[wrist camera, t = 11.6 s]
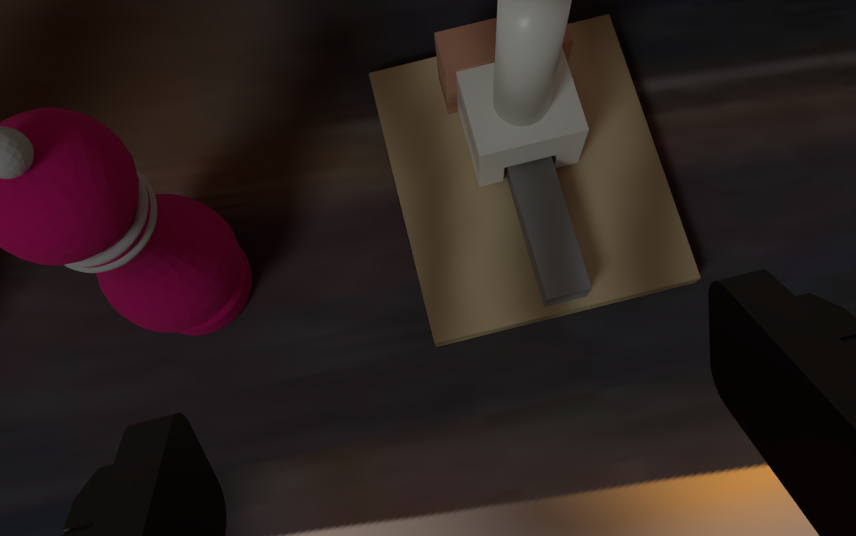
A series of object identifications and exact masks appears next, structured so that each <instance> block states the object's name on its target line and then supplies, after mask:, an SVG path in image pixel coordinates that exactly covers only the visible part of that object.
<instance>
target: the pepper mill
mask: <svg viewBox="0 0 856 536" xmlns="http://www.w3.org/2000/svg"><path fill="white" fill-rule="evenodd" d="M0 247H1V248H2V249H4V250H5V251H7V252H9V253H11V254H13V255H14V256H16V257H18V258H20V259H23V260H26V261H30V262H33V263H37V264H42V265H52V266H56V265H65V266H66V267H68V268H71V269H74V270H77V271H81V272H87V273H96V276H97V278H98V281H99V284H100V287H101V290H102V292H103V293H104V295H105V296H106V298H107V300H108V301H109V302H110V304H111V305H112V306H113V307H114V309H115V310H116V311H118V312H119V313H120V314H121V315H122V316H124V317H125V318H127V319H128V320H130V321H131V322H133V323H135V324H136V325H138V326H140V327H143V328H145V329H148V330H152V331H157V332H177V333H180V334H184V335H192V336H197V335H205V334H210V333H212V332H215V331H217V330H220V329H221V328H223V327H225V326H226V325H228V324H229V323H230V322H232V321H233V320H234V319H235V318H236V317H237V316H238V315H239V313H240V312H241V311H242V310H243V308H244V306H245V305H246V303H247V301H248V298H249V295H250V291H251V288H252V270H251V267H250V264H249V260H248V258H247V256H246V254H245V253H244V251H243V250H242V249H241V247H240V246H239V244H238V242H237V239H236V237H235V234H234V232H233V231H232V229H231V227H230V226H229V224H228V223H227V222H226V221H225V220H224V219H223V218H222V217H221V216H220V215H219V214H218V213H216V212H215V211H214V210H212V209H211V208H209V207H208V206H206V205H205V204H203V203H201V202H199V201H197V200H194V199H191V198H188V197H184V196H180V195H174V194H157V195H155V194H154V191H153V189H152V187H151V185H150V184H149V182H148V181H147V179H146V178H145V177H144V176H143V175H142V174H141V173H140V172H139V171H137V170H136V168H135V164H134V161H133V157H132V155H131V154H130V152H129V151H128V150H127V148H126V147H125V145H124V144H123V143H122V141H121V140H120V138H118V137H117V136H116V135H115V134H114V133H113V132H112V131H111V130H110V129H108V128H107V127H106V126H105V125H103V124H102V123H100V122H98V121H97V120H95V119H93V118H91V117H89V116H86V115H84V114H81V113H79V112H76V111H71V110H66V109H59V108H39V109H34V110H29V111H25V112H22V113H19V114H16V115H13V116H11V117H10V118H8V119H6V120H4V121H2V122H1V123H0Z"/></svg>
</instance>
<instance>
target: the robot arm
mask: <svg viewBox="0 0 856 536" xmlns="http://www.w3.org/2000/svg"><path fill="white" fill-rule="evenodd" d="M709 334H710V365H711V371H712V376H713V380H714V383H715V386H716V388H717V391H718V393H719V395H720V397H721V399H722V401H723V403H724V404H725V406H726V407H727V408H728V410H729V411H730V413H731V414H732V415H733V417H734V418H735V419H736V421H737V422H738V424H739V425H740V426H741V428H742V429H743V431H744V432H745V433H746V435H747V436H748V437H749V439H750V440H751V442H752V443H753V444H754V446H755V447H756V449H757V450H758V451H759V453H760V454H761V455H762V457H763V458H764V460H765V461H766V462H767V464H768V465H769V466H770V468H771V469H772V471H773V472H774V473H775V475H776V476H777V477H778V479H779V480H780V482H781V483H782V484H783V486H784V487H785V489H786V490H787V491H788V493H789V494H790V495H791V497H792V498H793V500H794V501H795V502H796V504H797V505H798V507H799V508H800V509H801V511H802V512H803V514H804V515H805V516H806V518H807V519H808V520H809V522H810V523H811V525H812V526H813V527H814V529H815V530H816V531H817V533H818V534H819V536H856V318H855V317H854V316H853V315H852V314H850V313H849V312H848V311H847V310H846V309H845V308H842V307H840V306H838V305H835V304H833V303H831V302H829V301H826V300H824V299H822V298H820V297H817V296H815V295H813V294H810V293H808V294H804V295H800V296H796V297H795V296H794V295H793V294H792V293H791V292H790V291H789V290H788V289H787V288H786V287H785V286H784V285H783V284H781V283H780V282H779V281H778V280H777V279H776V278H775V277H774V276H773V275H772V274H771V273H770V272H768V271H766V270H763V269H762V270H758V271H754V272H750V273H746V274H742V275H738V276H734V277H730V278H725V279H721V280H717V281H713V282H712V283H711V285H710V288H709ZM63 530H64V535H61V536H225V531H226V507H225V501H224V496H223V493H222V489H221V486H220V484H219V482H218V480H217V478H216V476H215V474H214V472H213V470H212V467H211V465H210V463H209V461H208V459H207V457H206V455H205V453H204V451H203V449H202V447H201V445H200V443H199V441H198V439H197V437H196V435H195V433H194V431H193V429H192V427H191V425H190V423H189V421H188V420H187V418H186V417H185V416H184V415H183V414H181V413H175V414H171V415H167V416H163V417H159V418H155V419H151V420H147V421H143V422H139V423H135V424H131V425H129V426H128V427H127V428H126V429H125V432H124V434H123V437H122V440H121V443H120V446H119V449H118V452H117V455H116V458H115V461H114V464H113V465H109V466H105V467H101V468H98V470H97V471H96V472H95V474H94V475H93V476H92V477H91V479H90V480H89V481H88V482H87V484H86V485H85V486H84V487H83V489H82V490H81V491H80V492H79V494H78V495H77V496H76V497H75V499H74V502H73V505H72V507H71V510H70V513H69V515H68V518H67V520H66V523H65V526H64V528H63Z"/></svg>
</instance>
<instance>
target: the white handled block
mask: <svg viewBox="0 0 856 536" xmlns="http://www.w3.org/2000/svg"><path fill="white" fill-rule="evenodd" d="M571 2H572V0H498V5H497V25H496V46H495V63H491V64H487V65H482V66H478V67H474V68H470V69H466V70H462V71H458V72H456V79H457V100H458V112H459V115H460V119H461V123H462V126H463V130H464V133H465V137H466V141H467V144H468V148H469V152H470V155H471V159H472V162H473V166H474V170H475V173H476V177H477V181H478V184H479V187H481V186H485V185H489V184H493V183H497V182H501V181H503V177H504V168H505V167H509V166H513V165H517V164H521V163H525V162H530V161H534V160H538V159H542V158H546V157H550V156H551V157H552V160H553V163H554V167H555V168H558V167H562V166H566V165H570V164H574V163H578V161H579V158H580V155H581V152H582V149H583V146H584V143H585V140H586V137H587V134H588V131H589V128H588V125H587V122H586V118H585V115H584V112H583V109H582V106H581V103H580V100H579V97H578V94H577V91H576V88H575V85H574V81H573V78H572V75H571V72H570V69H569V66H568V63H567V60H566V57H565V54H564V51H563V48H562V45H563V40H564V35H565V31H566V26H567V21H568V16H569V11H570V7H571Z"/></svg>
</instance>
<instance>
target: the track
mask: <svg viewBox="0 0 856 536" xmlns="http://www.w3.org/2000/svg"><path fill="white" fill-rule="evenodd" d="M496 25H497V18H493V19H489V20H485V21H481V22H477V23H473V24H469V25H464V26H460V27H456V28H452V29H448V30H444V31H440V32H436V33H434V35H435V45H436V57H432V58H428V59H424V60H420V61H416V62H412V63H408V64H404V65H400V66H396V67H392V68H388V69H384V70H380V71H376V72H372V73H369V77H370V81H371V85H372V89H373V93H374V97H375V101H376V106H377V110H378V114H379V118H380V122H381V126H382V130H383V134H384V138H385V142H386V146H387V151H388V155H389V159H390V163H391V167H392V171H393V175H394V179H395V183H396V187H397V192H398V196H399V200H400V204H401V208H402V212H403V216H404V220H405V224H406V228H407V232H408V237H409V241H410V245H411V249H412V253H413V257H414V261H415V265H416V269H417V273H418V278H419V282H420V286H421V290H422V294H423V298H424V302H425V306H426V310H427V314H428V318H429V323H430V327H431V331H432V335H433V339H434V343H435V346H436V347H438V346H442V345H446V344H451V343H455V342H459V341H463V340H467V339H471V338H475V337H479V336H483V335H487V334H491V333H495V332H499V331H503V330H507V329H511V328H515V327H519V326H523V325H527V324H531V323H535V322H539V321H543V320H547V319H551V318H555V317H559V316H563V315H567V314H571V313H575V312H580V311H584V310H588V309H592V308H596V307H600V306H604V305H608V304H612V303H616V302H620V301H624V300H628V299H632V298H636V297H640V296H644V295H648V294H652V293H656V292H660V291H664V290H668V289H672V288H676V287H680V286H684V285H688V284H692V283H695V282H696V281H698V280H699V279H700V278H701V277H700V274H699V272H698V269H697V266H696V263H695V260H694V257H693V254H692V251H691V248H690V246H689V243H688V240H687V237H686V234H685V231H684V228H683V225H682V223H681V220H680V217H679V214H678V211H677V208H676V205H675V202H674V200H673V197H672V194H671V191H670V188H669V185H668V182H667V179H666V177H665V174H664V171H663V168H662V165H661V162H660V159H659V156H658V153H657V151H656V148H655V145H654V142H653V139H652V136H651V133H650V130H649V128H648V125H647V122H646V119H645V116H644V113H643V110H642V107H641V105H640V102H639V99H638V96H637V93H636V90H635V87H634V84H633V82H632V79H631V76H630V73H629V70H628V67H627V64H626V61H625V58H624V56H623V53H622V50H621V47H620V44H619V41H618V38H617V35H616V33H615V30H614V27H613V24H612V21H611V18H610V15H609V14H607V15H603V16H599V17H594V18H590V19H586V20H582V21H578V22H574V23H570V24H568V22H567V26H566V31H565V35H564V40H563V45H562V48H563V51H564V54H565V57H566V60H567V63H568V66H569V69H570V72H571V75H572V78H573V81H574V85H575V88H576V91H577V94H578V97H579V100H580V103H581V106H582V109H583V112H584V115H585V118H586V122H587V125H588V128H589V131H588V134H587V137H586V140H585V143H584V146H583V149H582V152H581V155H580V158H579V161H578V163H574V164H570V165H566V166H562V167H558V168H555V167H554V163H553V160H552V157H551V156H550V157H546V158H542V159H538V160H534V161H530V162H525V163H521V164H517V165H513V166H509V167H505V168H504V177H503V181H501V182H497V183H493V184H489V185H485V186H481V187H479V184H478V181H477V177H476V173H475V170H474V166H473V162H472V159H471V155H470V152H469V148H468V144H467V141H466V137H465V133H464V130H463V126H462V123H461V119H460V115H459V112H458V100H457V79H456V72H458V71H462V70H466V69H470V68H474V67H478V66H482V65H487V64H491V63H495V46H496Z"/></svg>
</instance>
